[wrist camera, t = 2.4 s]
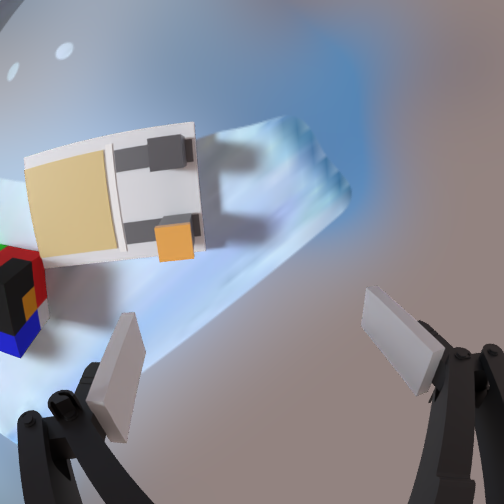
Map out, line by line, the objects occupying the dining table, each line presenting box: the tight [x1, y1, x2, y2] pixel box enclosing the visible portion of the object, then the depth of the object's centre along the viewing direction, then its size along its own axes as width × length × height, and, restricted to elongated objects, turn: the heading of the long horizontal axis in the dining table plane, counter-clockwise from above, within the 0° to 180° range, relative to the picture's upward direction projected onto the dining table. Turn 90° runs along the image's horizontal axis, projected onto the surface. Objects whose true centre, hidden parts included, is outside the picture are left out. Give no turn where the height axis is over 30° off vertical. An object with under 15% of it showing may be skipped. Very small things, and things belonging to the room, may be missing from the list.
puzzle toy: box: [0, 244, 50, 358], centre depth 27 cm, size 10×10×10 cm
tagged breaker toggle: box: [154, 213, 195, 262], centre depth 28 cm, size 3×3×5 cm
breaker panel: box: [24, 122, 206, 269], centre depth 30 cm, size 14×21×2 cm, turn 94°
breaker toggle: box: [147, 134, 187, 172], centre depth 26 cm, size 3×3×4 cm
